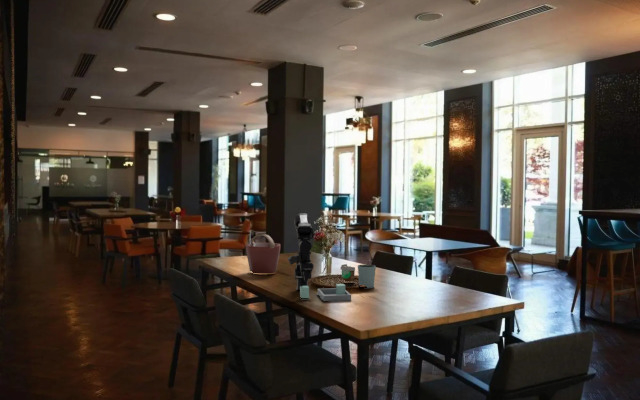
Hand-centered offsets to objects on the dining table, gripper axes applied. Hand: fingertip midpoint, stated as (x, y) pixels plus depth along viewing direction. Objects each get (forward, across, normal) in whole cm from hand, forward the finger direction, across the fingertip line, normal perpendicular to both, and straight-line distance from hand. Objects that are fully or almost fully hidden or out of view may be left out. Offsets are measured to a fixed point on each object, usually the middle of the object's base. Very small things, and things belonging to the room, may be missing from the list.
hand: (304, 280), depth 259 cm
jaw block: (+9, 0, 0) cm, 9 cm away
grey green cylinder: (+10, -23, +39) cm, 46 cm away
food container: (+10, -36, +30) cm, 48 cm away
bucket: (+10, -77, -15) cm, 79 cm away
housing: (+9, +1, +15) cm, 18 cm away
